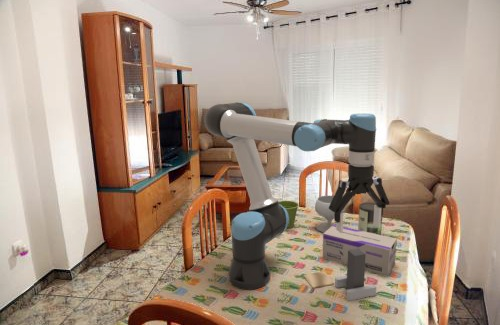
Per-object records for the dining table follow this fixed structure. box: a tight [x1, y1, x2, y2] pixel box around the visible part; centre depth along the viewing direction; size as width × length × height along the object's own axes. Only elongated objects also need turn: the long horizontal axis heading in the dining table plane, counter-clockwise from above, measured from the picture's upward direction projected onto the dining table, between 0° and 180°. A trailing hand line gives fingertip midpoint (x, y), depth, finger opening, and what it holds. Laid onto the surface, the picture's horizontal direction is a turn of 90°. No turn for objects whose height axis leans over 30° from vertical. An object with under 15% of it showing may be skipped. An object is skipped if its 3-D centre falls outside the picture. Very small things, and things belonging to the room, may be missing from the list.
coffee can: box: [357, 202, 383, 235], centre depth 152 cm, size 10×10×14 cm
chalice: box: [314, 195, 346, 233], centre depth 160 cm, size 14×14×15 cm
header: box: [334, 275, 377, 302], centre depth 112 cm, size 10×9×3 cm
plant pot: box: [278, 200, 300, 229], centre depth 165 cm, size 12×12×11 cm
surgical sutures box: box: [322, 225, 398, 277], centre depth 130 cm, size 25×11×11 cm, turn 54°
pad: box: [302, 271, 335, 289], centre depth 119 cm, size 8×8×1 cm
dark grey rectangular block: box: [345, 249, 366, 290], centre depth 111 cm, size 4×4×14 cm
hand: (358, 228), depth 107 cm, fingers open, 13 cm apart
